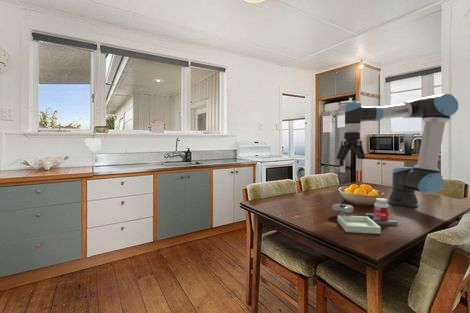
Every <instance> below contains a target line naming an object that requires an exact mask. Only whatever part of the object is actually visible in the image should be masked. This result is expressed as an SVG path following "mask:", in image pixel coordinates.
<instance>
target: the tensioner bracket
mask: <svg viewBox="0 0 470 313" xmlns="http://www.w3.org/2000/svg"><path fill="white" fill-rule="evenodd" d="M373 216H374V213H365V216H364V217H369V218H370V219H372V220H373V221H374V222H375V223H376V224H377V225H379V226H394V227H396V226H397V227H398V223H399V222H398V220H389V219H388V220H374V219H373Z"/></svg>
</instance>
